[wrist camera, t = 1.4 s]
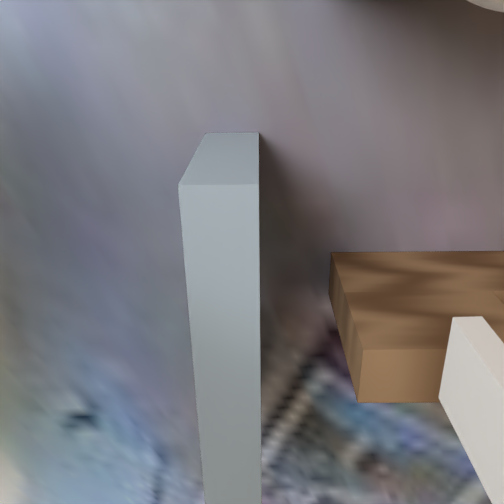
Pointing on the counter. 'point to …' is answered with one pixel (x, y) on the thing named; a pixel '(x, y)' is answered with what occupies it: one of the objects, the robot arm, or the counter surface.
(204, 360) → the grey flat rectangular block
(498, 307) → the walnut board
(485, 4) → the mug
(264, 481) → the counter surface
